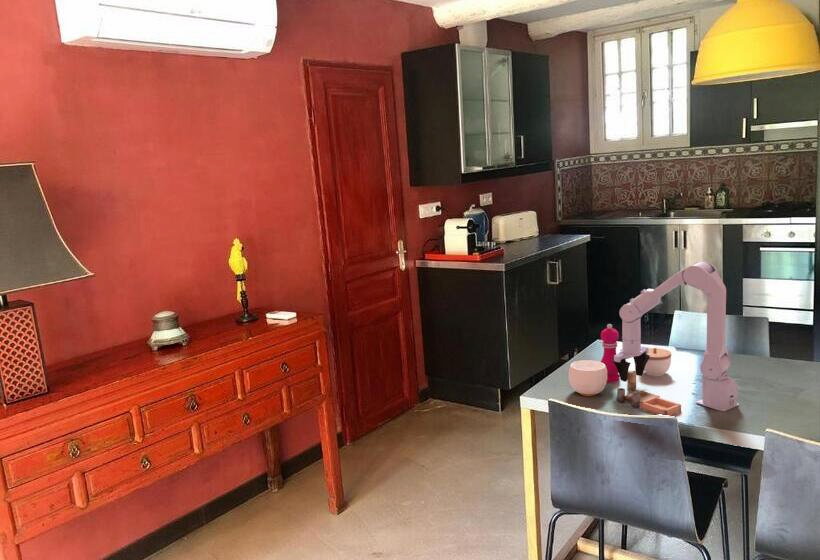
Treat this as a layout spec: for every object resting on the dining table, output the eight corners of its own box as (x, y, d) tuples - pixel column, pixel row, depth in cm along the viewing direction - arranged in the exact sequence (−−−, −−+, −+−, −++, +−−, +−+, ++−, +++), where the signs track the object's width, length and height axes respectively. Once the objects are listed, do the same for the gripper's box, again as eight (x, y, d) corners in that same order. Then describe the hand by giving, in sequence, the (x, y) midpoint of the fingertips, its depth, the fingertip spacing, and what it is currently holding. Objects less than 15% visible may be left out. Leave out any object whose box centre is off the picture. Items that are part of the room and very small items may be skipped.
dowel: (638, 389, 224) (638, 372, 223) (632, 391, 222) (632, 374, 221) (631, 387, 226) (631, 370, 225) (625, 389, 225) (625, 372, 223)
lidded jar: (653, 380, 231) (653, 354, 229) (632, 372, 240) (632, 346, 239) (678, 374, 235) (678, 349, 233) (656, 366, 244) (656, 341, 243)
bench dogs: (642, 406, 209) (642, 394, 208) (637, 408, 208) (636, 396, 207) (620, 399, 216) (620, 387, 215) (615, 401, 215) (615, 389, 214)
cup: (579, 402, 216) (578, 373, 214) (563, 389, 228) (562, 362, 226) (614, 396, 218) (614, 368, 217) (596, 384, 230) (596, 357, 229)
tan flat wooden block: (659, 400, 214) (659, 396, 214) (640, 407, 210) (640, 402, 209) (641, 395, 220) (641, 390, 220) (622, 401, 216) (622, 396, 215)
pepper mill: (604, 375, 239) (603, 320, 236) (624, 378, 235) (623, 322, 231) (596, 381, 234) (595, 325, 230) (616, 384, 229) (615, 327, 226)
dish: (681, 411, 203) (681, 404, 203) (665, 417, 200) (665, 410, 199) (655, 403, 211) (655, 396, 211) (640, 408, 207) (640, 402, 207)
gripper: (636, 332, 228) (636, 370, 230) (606, 340, 220) (607, 380, 223) (653, 336, 222) (653, 375, 225) (623, 345, 215) (623, 385, 217)
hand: (631, 378), depth 223 cm, fingers open, 7 cm apart
